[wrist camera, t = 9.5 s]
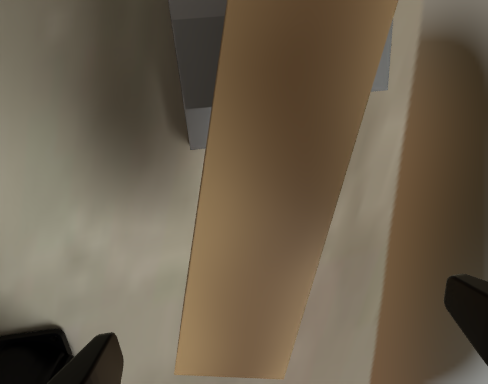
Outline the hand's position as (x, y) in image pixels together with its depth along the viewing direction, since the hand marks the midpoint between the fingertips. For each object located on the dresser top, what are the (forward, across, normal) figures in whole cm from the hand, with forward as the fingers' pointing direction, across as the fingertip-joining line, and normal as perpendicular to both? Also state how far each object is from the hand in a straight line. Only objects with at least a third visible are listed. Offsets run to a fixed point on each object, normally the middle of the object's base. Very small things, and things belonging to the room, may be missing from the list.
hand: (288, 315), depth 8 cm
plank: (+6, -1, -7) cm, 9 cm away
